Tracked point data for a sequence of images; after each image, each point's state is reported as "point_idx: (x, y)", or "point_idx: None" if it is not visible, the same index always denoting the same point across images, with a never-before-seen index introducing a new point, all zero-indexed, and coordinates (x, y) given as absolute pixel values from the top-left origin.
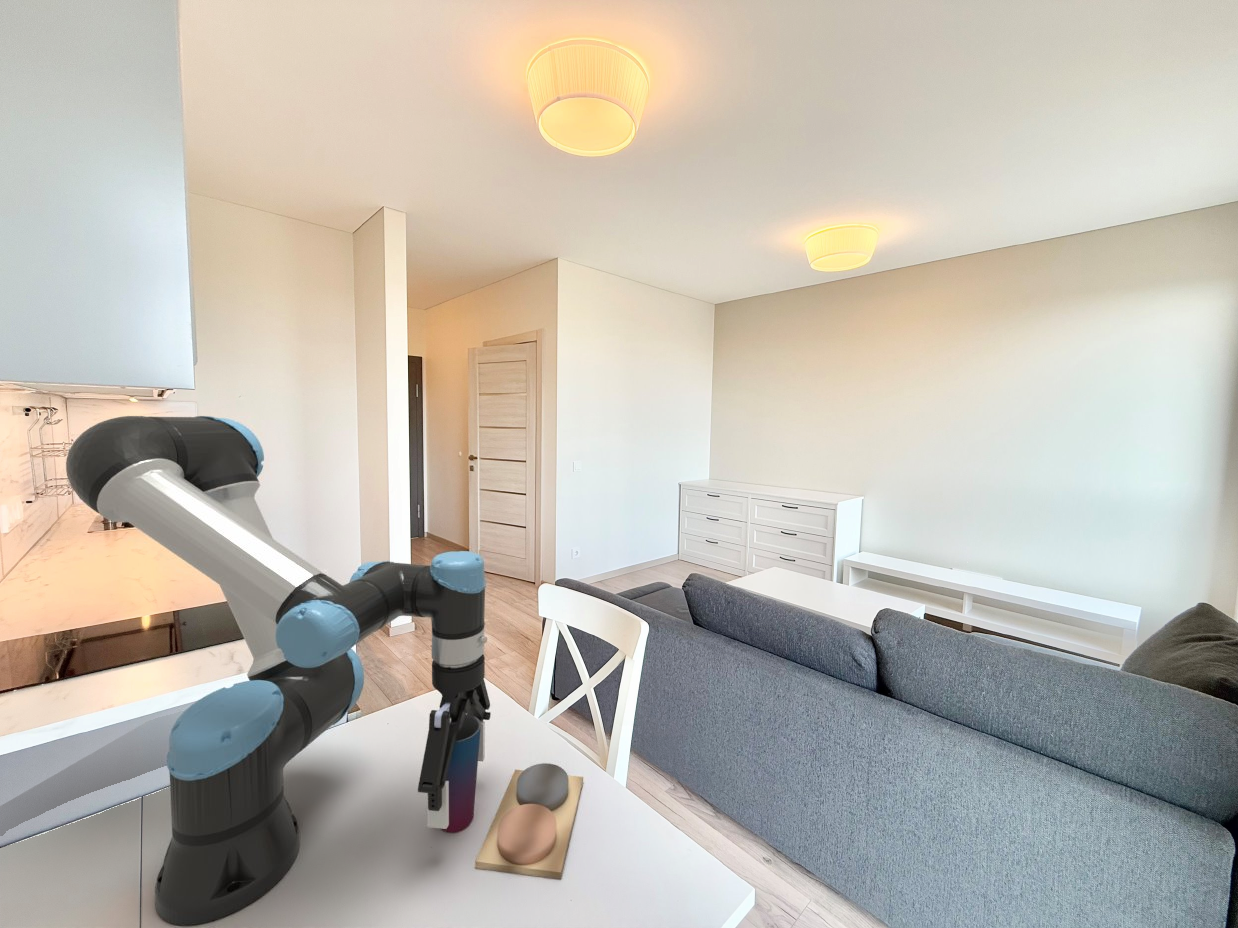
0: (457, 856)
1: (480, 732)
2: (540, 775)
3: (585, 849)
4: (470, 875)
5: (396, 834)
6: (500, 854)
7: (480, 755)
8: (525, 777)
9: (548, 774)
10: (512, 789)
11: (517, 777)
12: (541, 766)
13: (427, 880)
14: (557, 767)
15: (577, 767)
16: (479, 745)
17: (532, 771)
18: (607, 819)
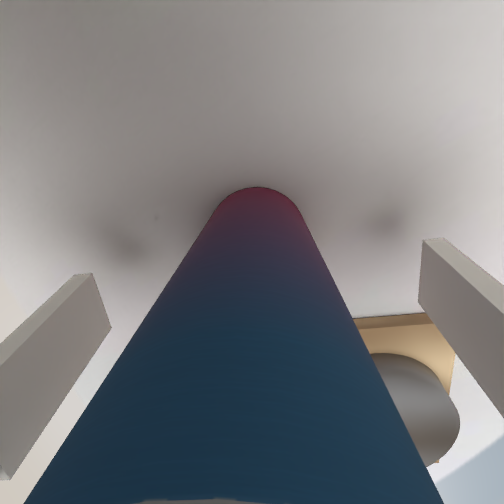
0: (158, 289)
1: (495, 391)
2: (406, 422)
3: None
4: (130, 333)
5: (151, 88)
6: None
7: (428, 307)
8: (393, 394)
9: (412, 437)
10: (374, 341)
11: (424, 337)
12: (445, 416)
13: (79, 259)
14: (442, 448)
15: (485, 430)
16: (453, 332)
17: (420, 402)
18: None
